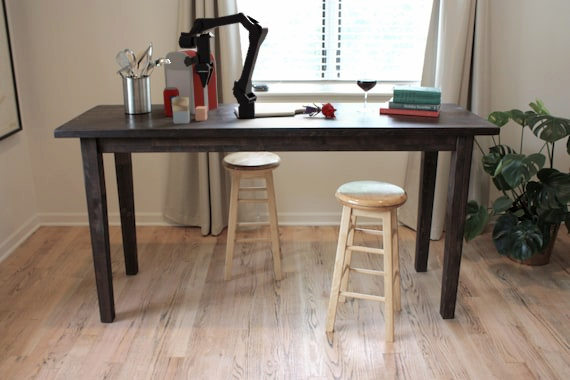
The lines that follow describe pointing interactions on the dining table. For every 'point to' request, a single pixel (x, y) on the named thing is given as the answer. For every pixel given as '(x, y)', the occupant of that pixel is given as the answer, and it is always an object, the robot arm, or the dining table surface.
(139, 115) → the dining table surface
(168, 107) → the beverage can
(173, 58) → the striped red arch
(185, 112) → the gray block
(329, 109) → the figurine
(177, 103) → the maple block
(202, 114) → the terracotta block
